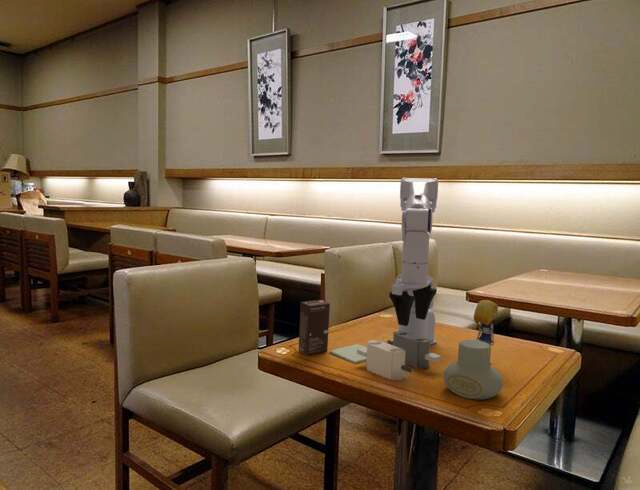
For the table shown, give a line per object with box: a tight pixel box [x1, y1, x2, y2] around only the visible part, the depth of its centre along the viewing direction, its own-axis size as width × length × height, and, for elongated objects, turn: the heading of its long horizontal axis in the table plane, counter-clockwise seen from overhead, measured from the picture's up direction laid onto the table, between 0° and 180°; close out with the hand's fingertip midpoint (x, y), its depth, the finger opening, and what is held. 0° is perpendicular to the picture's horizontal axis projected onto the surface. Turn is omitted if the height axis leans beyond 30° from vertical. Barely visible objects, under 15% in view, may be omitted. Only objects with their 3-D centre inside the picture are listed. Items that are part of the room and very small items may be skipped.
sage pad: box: [329, 343, 367, 365], centre depth 114 cm, size 9×9×1 cm
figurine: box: [473, 299, 499, 366], centre depth 108 cm, size 5×5×15 cm
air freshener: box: [443, 339, 504, 401], centre depth 92 cm, size 11×8×10 cm
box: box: [298, 299, 331, 356], centre depth 115 cm, size 6×4×12 cm
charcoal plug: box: [386, 330, 442, 370], centre depth 109 cm, size 14×4×6 cm, turn 39°
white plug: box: [357, 339, 413, 382], centre depth 102 cm, size 14×4×6 cm, turn 39°
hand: (412, 321), depth 108 cm, fingers open, 7 cm apart
